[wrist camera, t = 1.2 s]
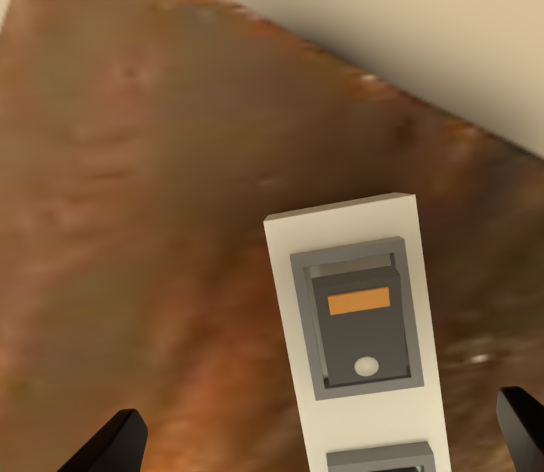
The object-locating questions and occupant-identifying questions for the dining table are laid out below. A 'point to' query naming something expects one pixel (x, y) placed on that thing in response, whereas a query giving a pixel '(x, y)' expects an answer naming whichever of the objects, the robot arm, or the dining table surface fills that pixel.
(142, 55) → the dining table surface
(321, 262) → the switch box
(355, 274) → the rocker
